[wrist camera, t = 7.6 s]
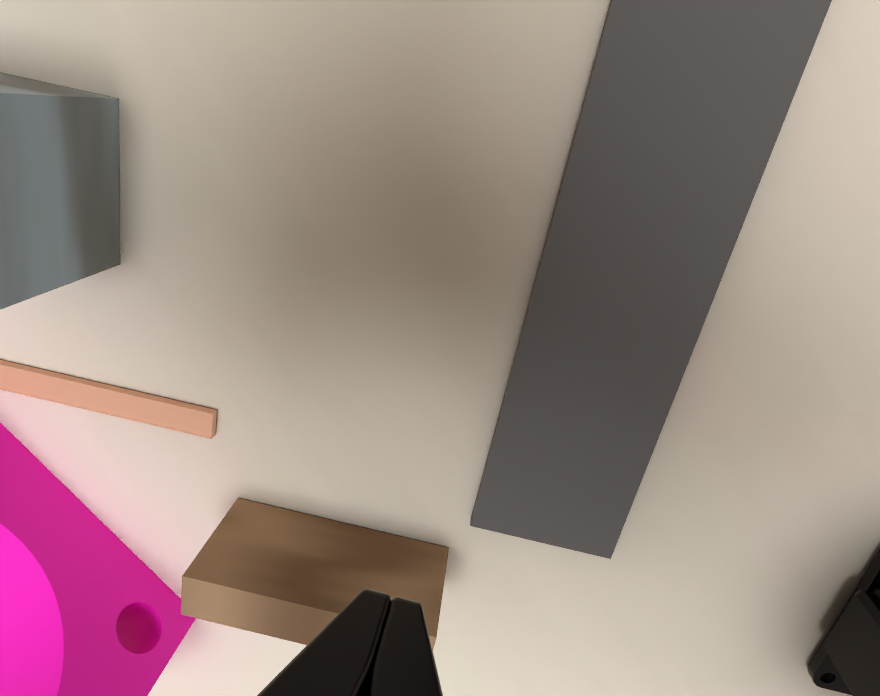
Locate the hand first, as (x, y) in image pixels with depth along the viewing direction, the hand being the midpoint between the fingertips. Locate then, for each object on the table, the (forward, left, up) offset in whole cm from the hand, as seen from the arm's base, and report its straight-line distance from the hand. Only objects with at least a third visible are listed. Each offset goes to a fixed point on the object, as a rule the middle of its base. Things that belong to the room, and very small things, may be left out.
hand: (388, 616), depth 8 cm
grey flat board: (-4, -3, -11) cm, 12 cm away
